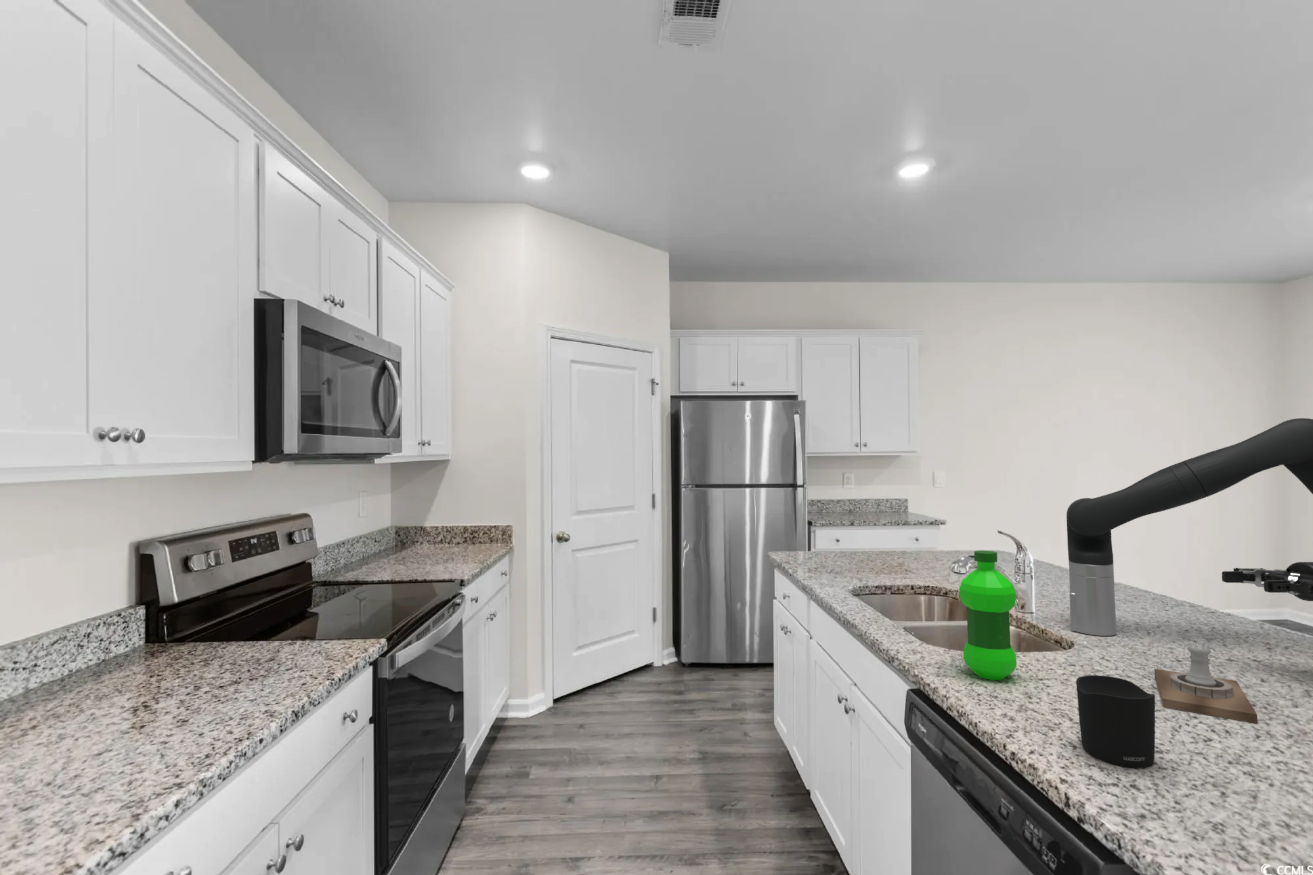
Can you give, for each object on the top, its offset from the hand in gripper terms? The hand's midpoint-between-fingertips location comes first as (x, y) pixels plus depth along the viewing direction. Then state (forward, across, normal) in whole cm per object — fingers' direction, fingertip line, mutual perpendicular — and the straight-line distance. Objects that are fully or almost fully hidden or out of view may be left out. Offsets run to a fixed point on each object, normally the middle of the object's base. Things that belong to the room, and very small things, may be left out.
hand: (1243, 581), depth 119 cm
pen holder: (+47, +28, +20) cm, 58 cm away
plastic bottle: (+47, -5, +20) cm, 52 cm away
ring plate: (+16, +8, +19) cm, 26 cm away
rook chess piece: (+16, +8, +18) cm, 25 cm away
